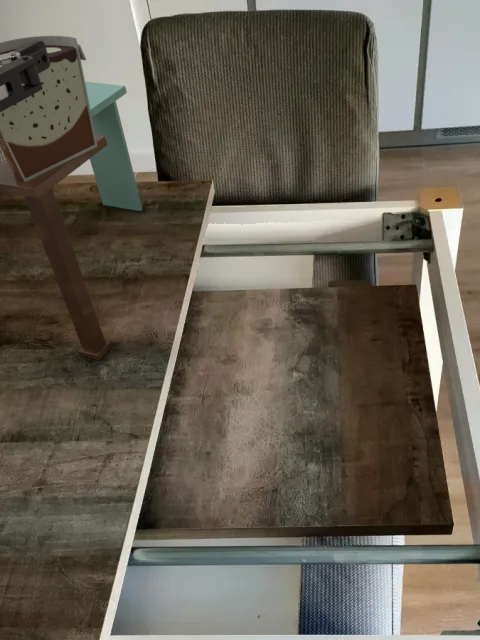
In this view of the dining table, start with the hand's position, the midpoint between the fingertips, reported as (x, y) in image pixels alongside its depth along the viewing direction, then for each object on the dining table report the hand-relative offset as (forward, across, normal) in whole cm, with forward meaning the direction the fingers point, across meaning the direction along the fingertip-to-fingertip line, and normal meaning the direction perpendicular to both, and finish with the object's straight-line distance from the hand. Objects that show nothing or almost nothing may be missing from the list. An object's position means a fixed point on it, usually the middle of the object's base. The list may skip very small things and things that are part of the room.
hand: (5, 49), depth 60 cm
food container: (0, 0, +10) cm, 10 cm away
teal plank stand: (+25, +14, +32) cm, 43 cm away
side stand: (0, 0, +32) cm, 32 cm away
